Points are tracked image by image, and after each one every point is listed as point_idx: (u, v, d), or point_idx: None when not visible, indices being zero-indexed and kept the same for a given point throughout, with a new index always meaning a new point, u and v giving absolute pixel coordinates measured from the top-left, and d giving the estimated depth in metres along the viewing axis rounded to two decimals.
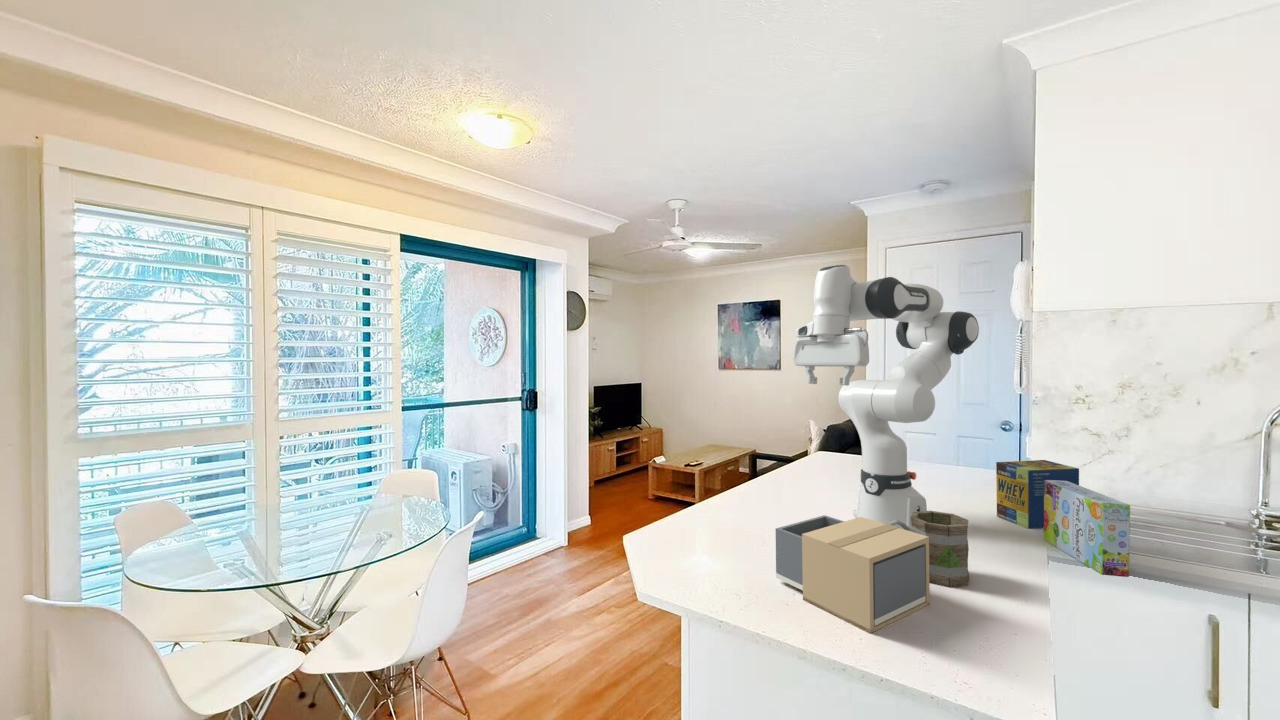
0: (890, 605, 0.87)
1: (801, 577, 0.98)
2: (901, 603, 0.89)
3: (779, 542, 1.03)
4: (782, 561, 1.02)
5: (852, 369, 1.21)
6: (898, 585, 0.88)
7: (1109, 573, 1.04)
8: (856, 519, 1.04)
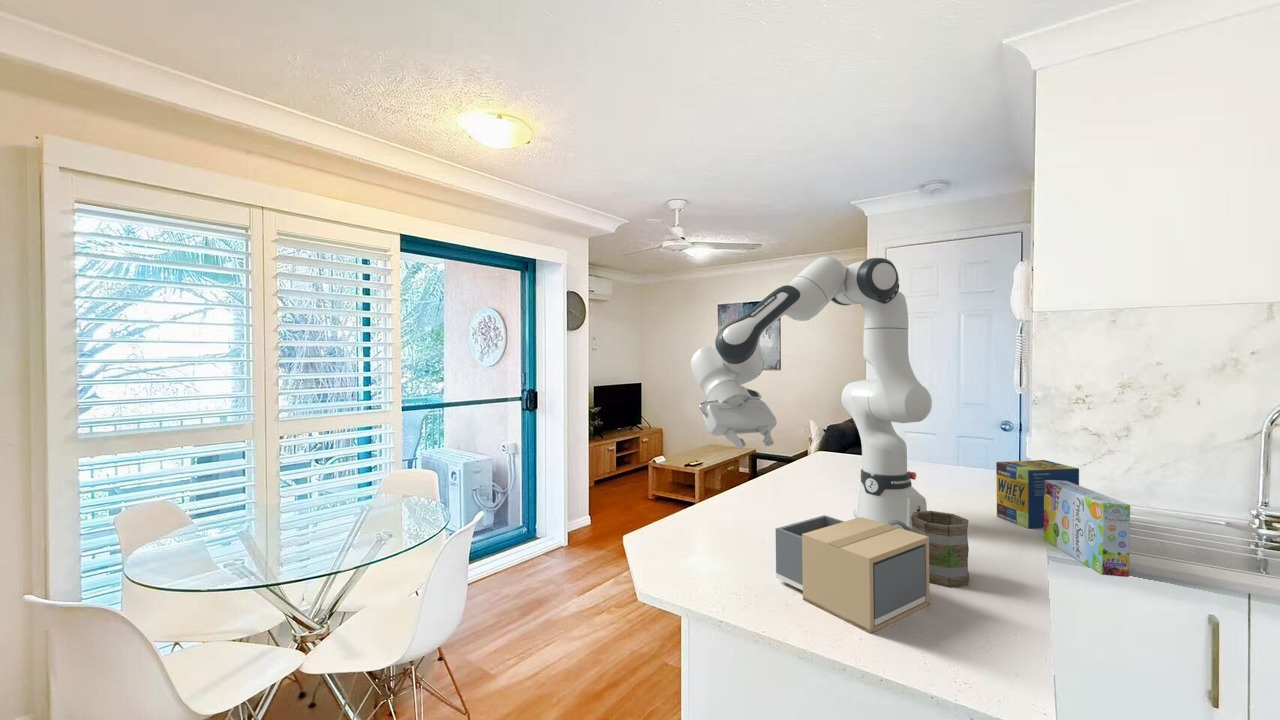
0: (890, 605, 0.87)
1: (801, 577, 0.98)
2: (901, 603, 0.89)
3: (779, 542, 1.03)
4: (782, 561, 1.02)
5: (728, 433, 1.17)
6: (898, 585, 0.88)
7: (1109, 573, 1.04)
8: (856, 519, 1.04)
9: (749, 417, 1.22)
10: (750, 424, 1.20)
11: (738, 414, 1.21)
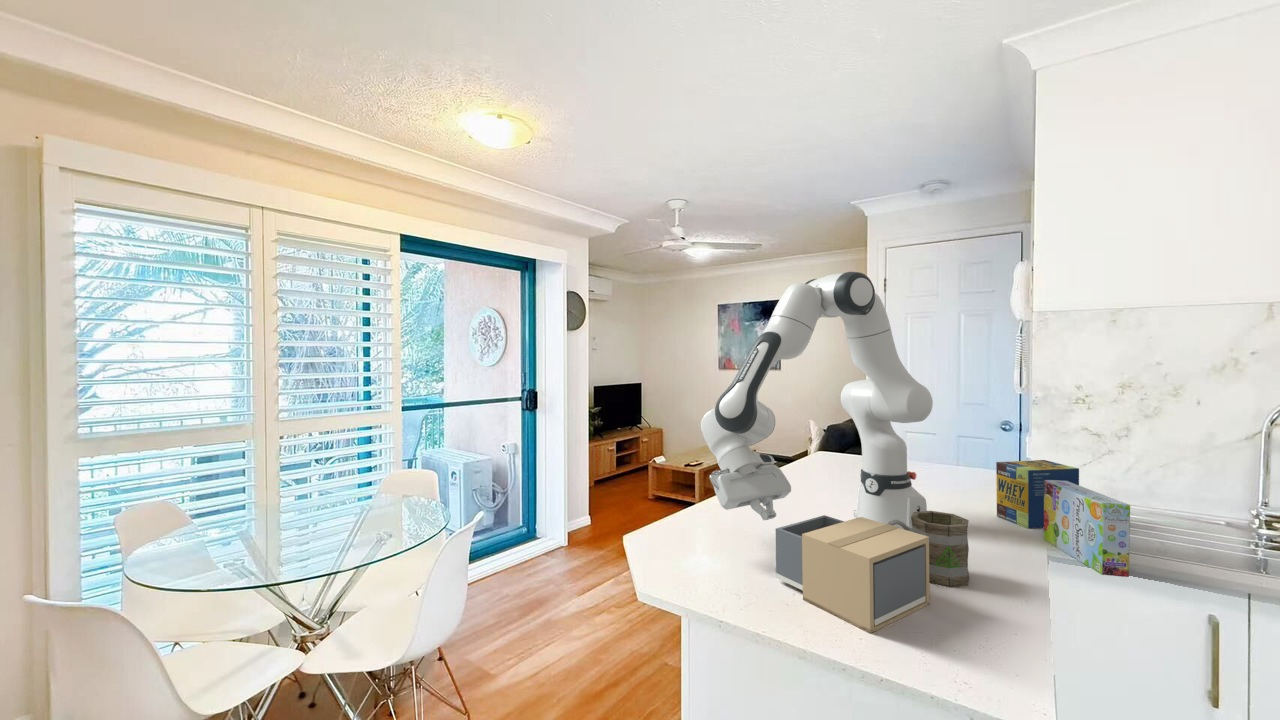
0: (890, 605, 0.87)
1: (801, 577, 0.98)
2: (901, 603, 0.89)
3: (779, 542, 1.03)
4: (782, 561, 1.02)
5: (754, 504, 1.15)
6: (898, 585, 0.88)
7: (1109, 573, 1.04)
8: (856, 519, 1.04)
9: (762, 486, 1.18)
10: (763, 494, 1.17)
11: (750, 484, 1.17)
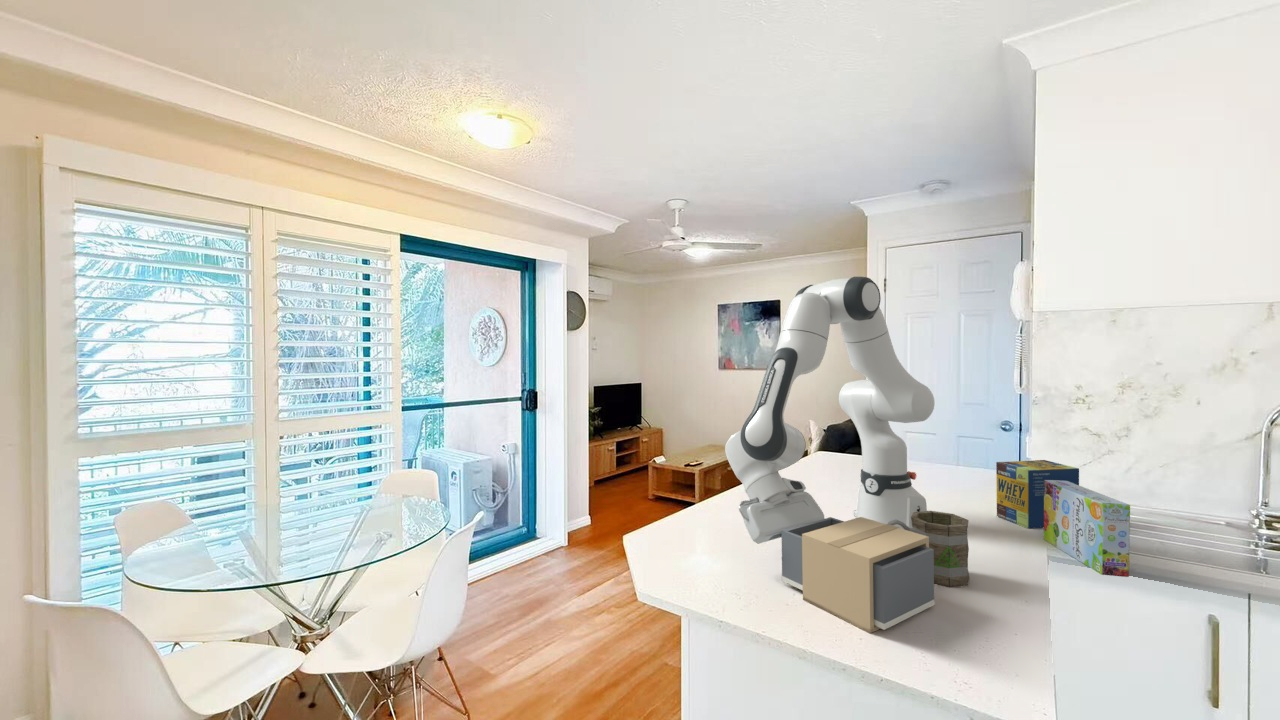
0: (899, 609, 0.86)
1: None
2: (910, 607, 0.87)
3: (785, 544, 1.01)
4: (788, 564, 1.01)
5: None
6: (907, 588, 0.87)
7: (1109, 573, 1.04)
8: (856, 519, 1.04)
9: (795, 517, 1.10)
10: (796, 526, 1.09)
11: (782, 515, 1.09)
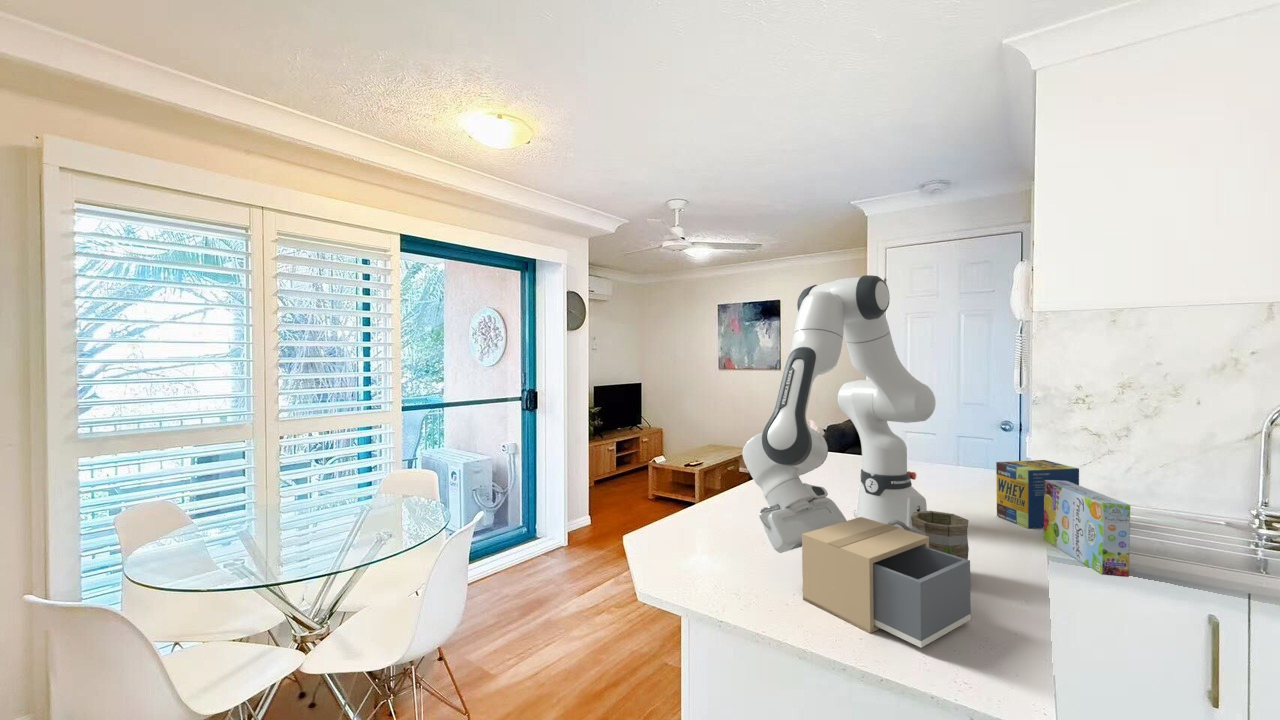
0: (936, 625, 0.81)
1: None
2: (947, 622, 0.82)
3: None
4: None
5: None
6: (944, 603, 0.82)
7: (1109, 573, 1.04)
8: (856, 519, 1.04)
9: (818, 524, 1.05)
10: None
11: (805, 522, 1.04)
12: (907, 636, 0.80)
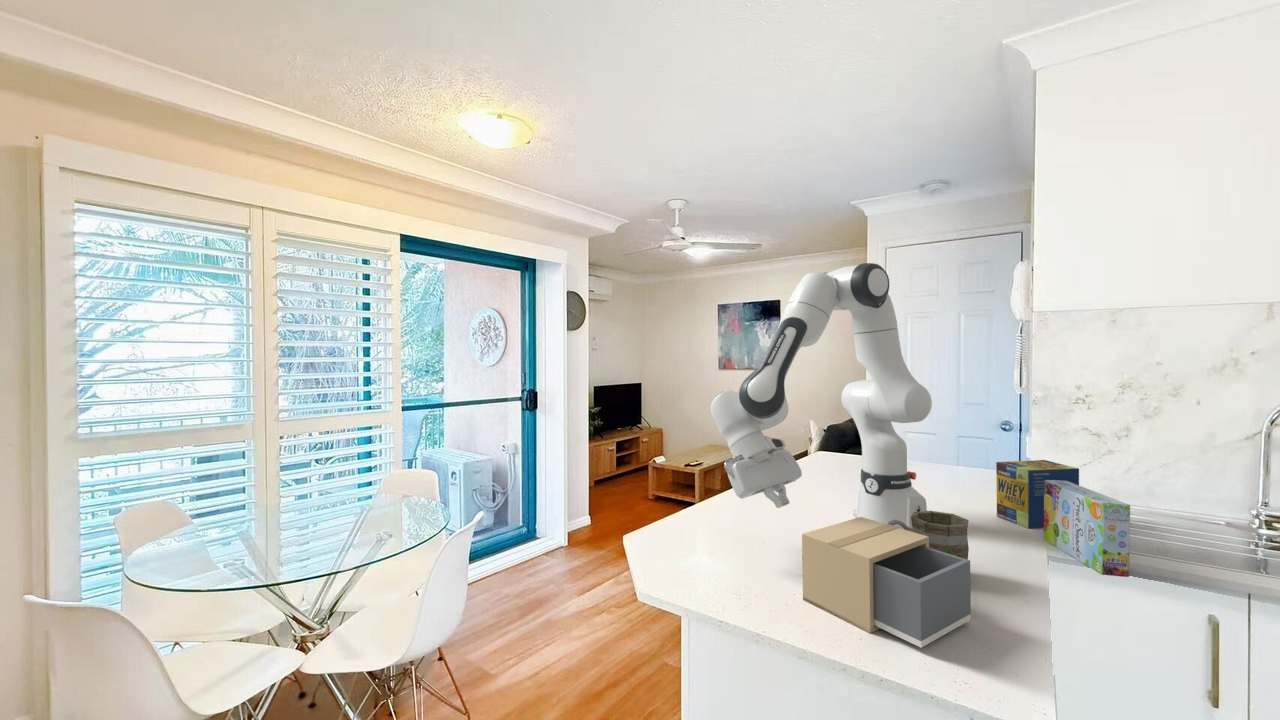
0: (936, 625, 0.81)
1: None
2: (947, 622, 0.82)
3: None
4: None
5: (768, 491, 1.14)
6: (944, 603, 0.82)
7: (1109, 573, 1.04)
8: (856, 519, 1.04)
9: (775, 473, 1.16)
10: (777, 482, 1.15)
11: (764, 471, 1.15)
12: (907, 636, 0.80)
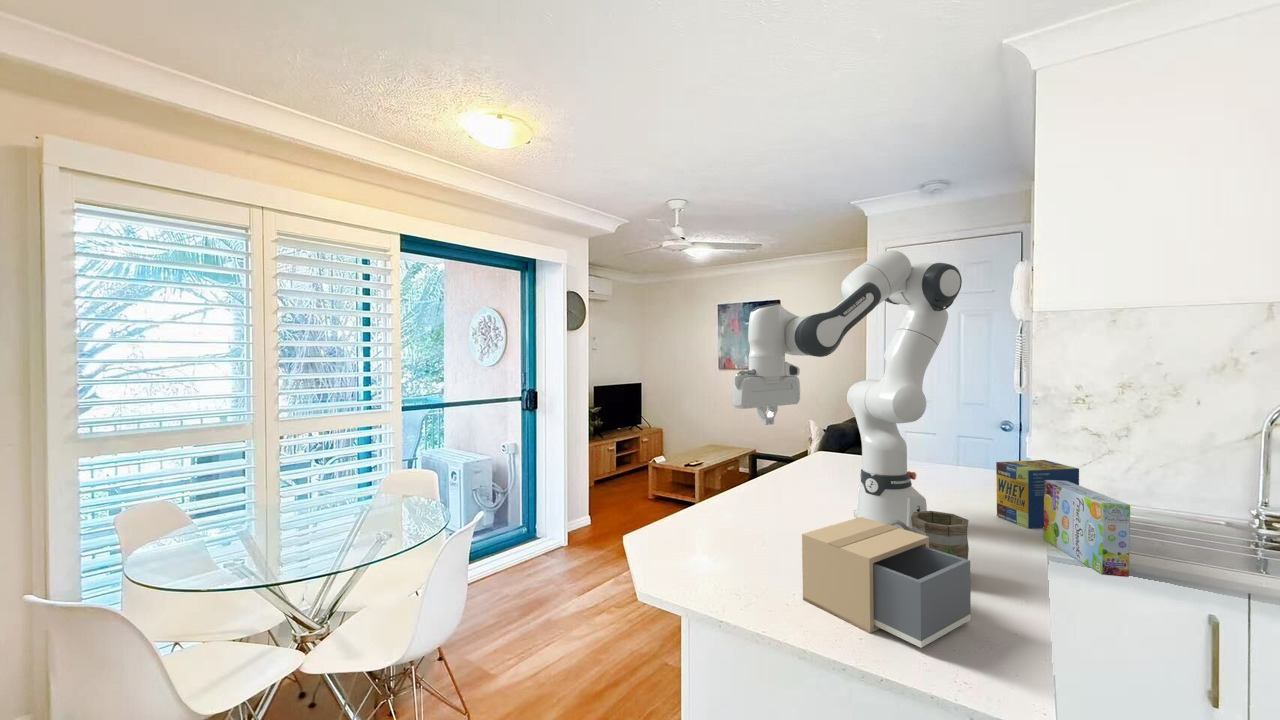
0: (936, 625, 0.81)
1: None
2: (947, 622, 0.82)
3: None
4: None
5: (760, 409, 1.24)
6: (944, 603, 0.82)
7: (1109, 573, 1.04)
8: (856, 519, 1.04)
9: (776, 397, 1.25)
10: (772, 405, 1.25)
11: (767, 393, 1.23)
12: (907, 636, 0.80)
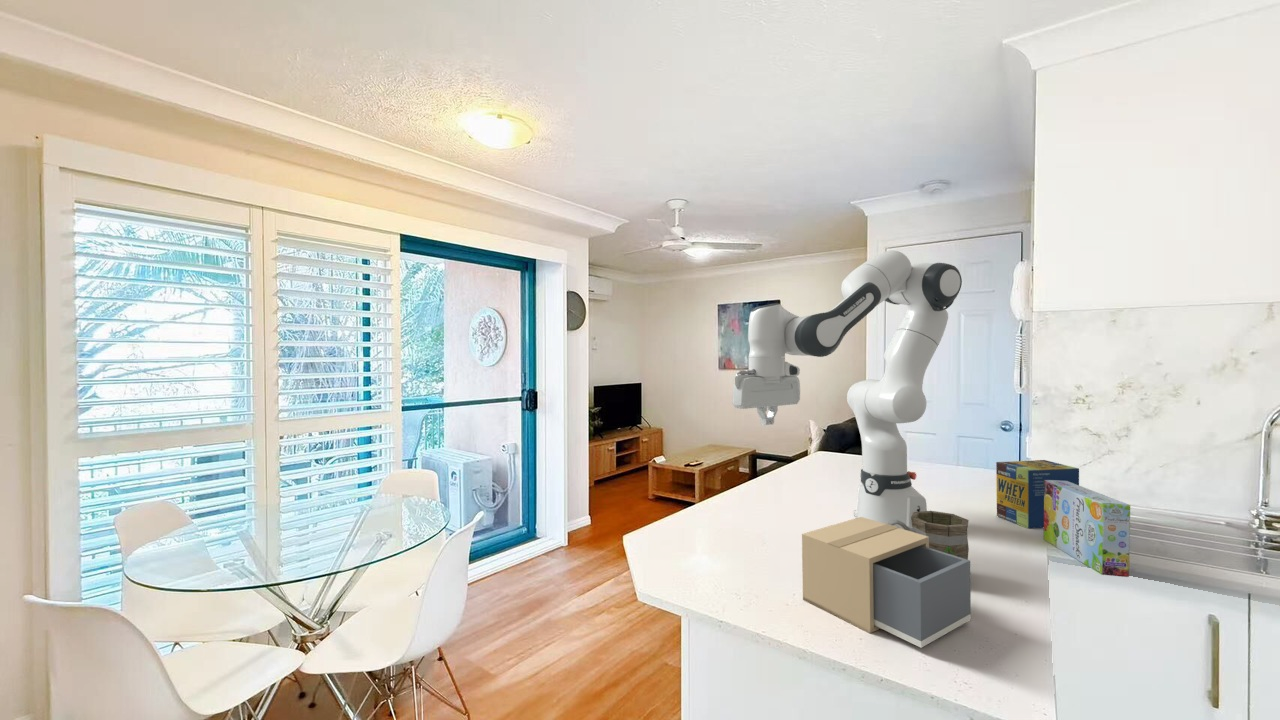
0: (936, 625, 0.81)
1: None
2: (947, 622, 0.82)
3: None
4: None
5: (760, 409, 1.24)
6: (944, 603, 0.82)
7: (1109, 573, 1.04)
8: (856, 519, 1.04)
9: (776, 397, 1.25)
10: (772, 405, 1.25)
11: (767, 393, 1.23)
12: (907, 636, 0.80)
